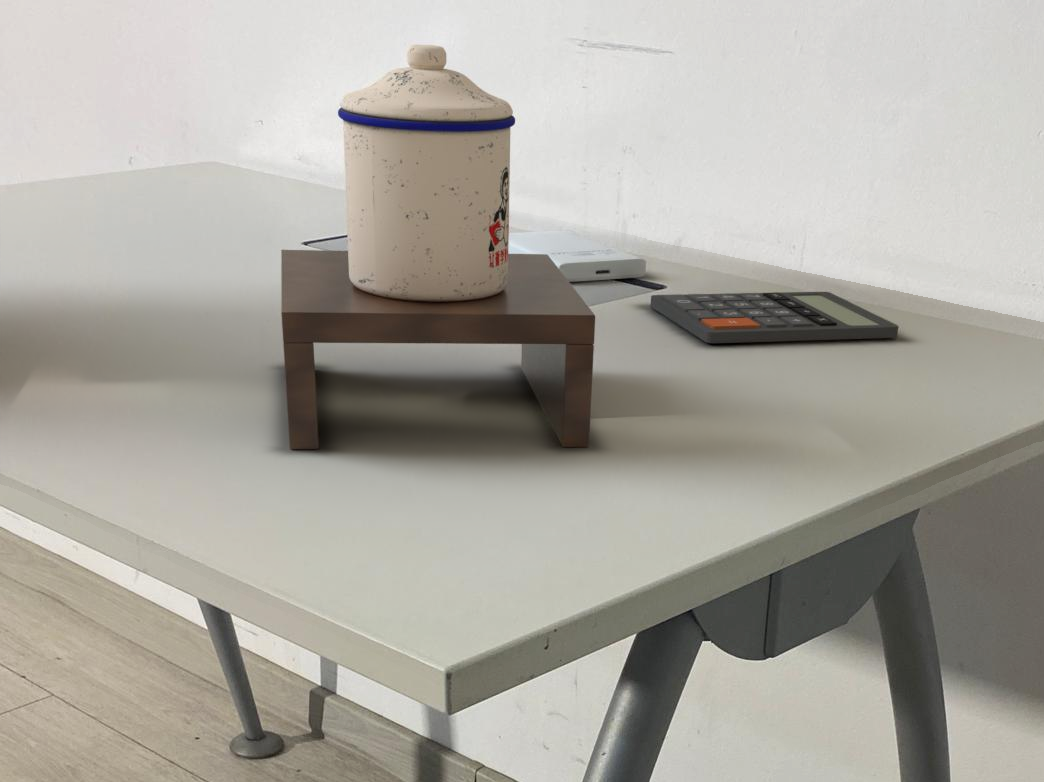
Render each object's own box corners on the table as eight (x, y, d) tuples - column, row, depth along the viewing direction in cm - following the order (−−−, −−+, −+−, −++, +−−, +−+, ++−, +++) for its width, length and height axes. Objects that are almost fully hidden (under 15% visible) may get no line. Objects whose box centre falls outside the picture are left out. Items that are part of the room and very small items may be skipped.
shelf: (289, 449, 75) (281, 312, 71) (288, 368, 88) (281, 249, 85) (589, 447, 78) (595, 315, 74) (544, 369, 91) (547, 254, 88)
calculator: (649, 292, 107) (828, 288, 112) (648, 305, 108) (826, 301, 112) (708, 329, 98) (901, 324, 103) (707, 343, 99) (899, 337, 103)
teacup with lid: (530, 303, 76) (536, 56, 70) (358, 305, 73) (349, 50, 67) (480, 258, 85) (481, 38, 79) (327, 258, 83) (316, 31, 77)
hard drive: (573, 249, 126) (646, 277, 117) (489, 253, 123) (558, 283, 114) (573, 229, 126) (647, 256, 117) (490, 233, 122) (559, 261, 113)
